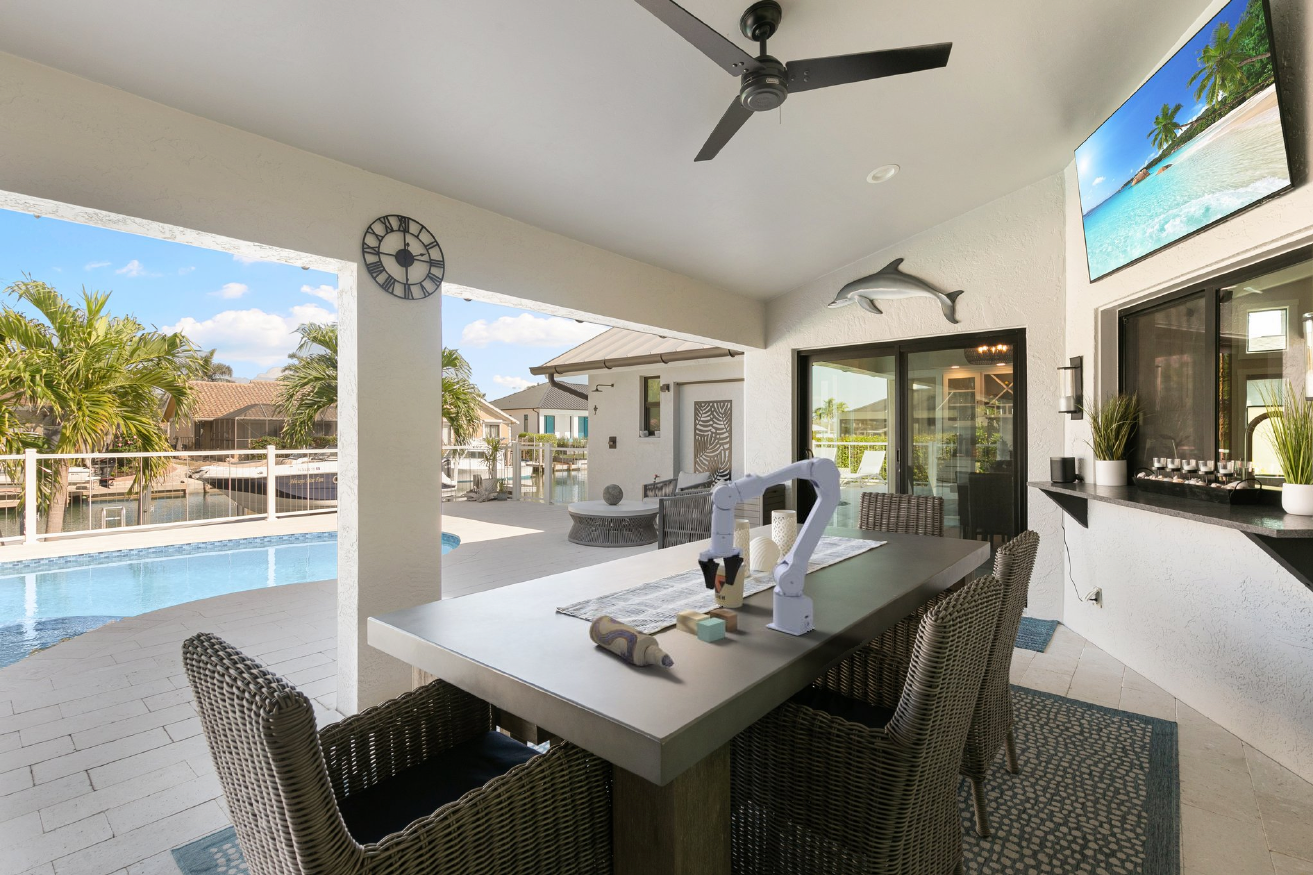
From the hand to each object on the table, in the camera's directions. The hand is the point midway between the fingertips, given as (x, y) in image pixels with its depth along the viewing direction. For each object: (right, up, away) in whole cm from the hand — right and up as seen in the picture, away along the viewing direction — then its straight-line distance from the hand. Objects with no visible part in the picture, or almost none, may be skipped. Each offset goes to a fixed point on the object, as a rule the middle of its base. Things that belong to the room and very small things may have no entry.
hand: (719, 586), depth 151 cm
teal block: (-3, -10, -8) cm, 14 cm away
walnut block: (+1, -10, -1) cm, 10 cm away
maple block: (-7, -10, -3) cm, 13 cm away
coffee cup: (+5, -11, +21) cm, 24 cm away
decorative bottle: (-22, -10, -23) cm, 33 cm away
